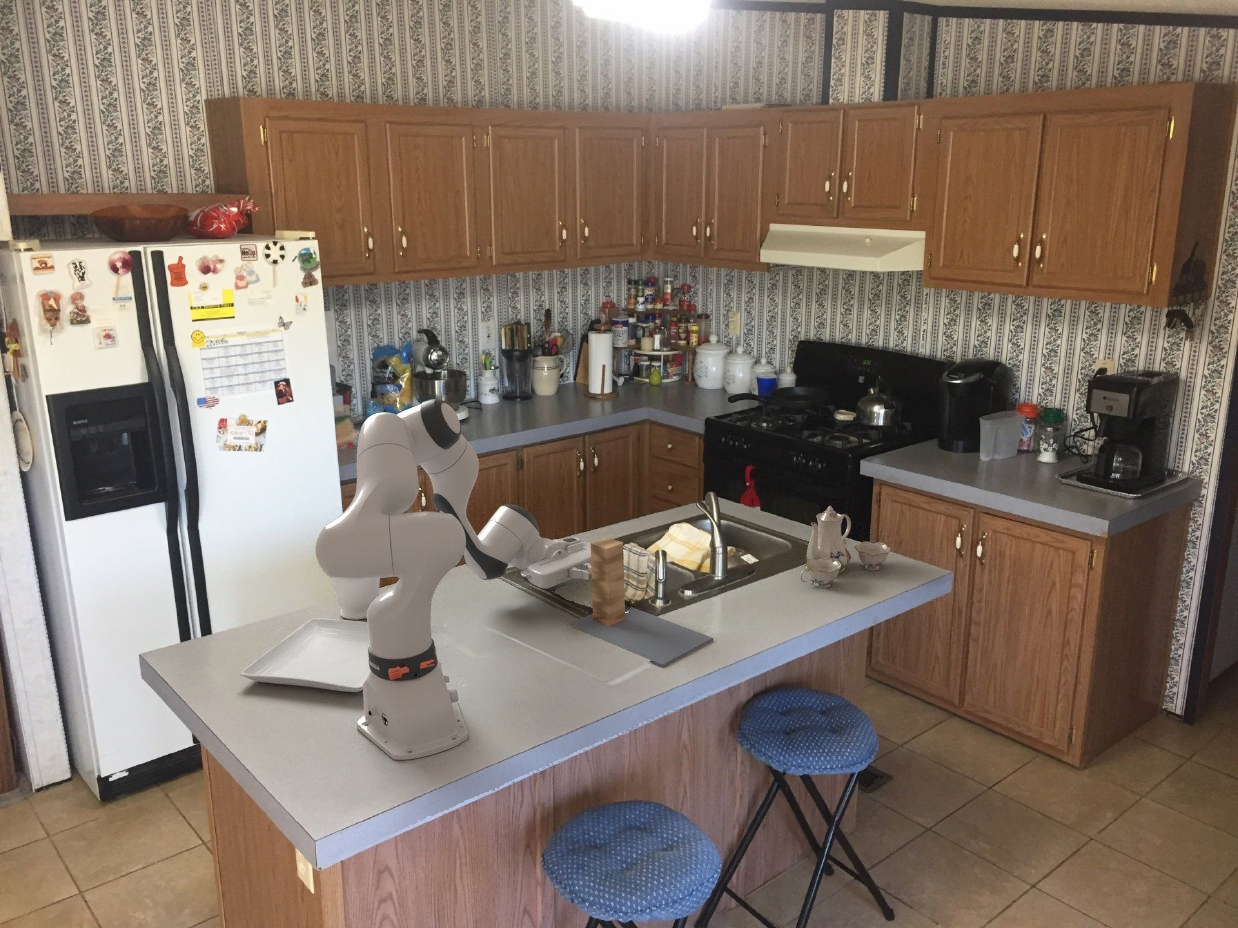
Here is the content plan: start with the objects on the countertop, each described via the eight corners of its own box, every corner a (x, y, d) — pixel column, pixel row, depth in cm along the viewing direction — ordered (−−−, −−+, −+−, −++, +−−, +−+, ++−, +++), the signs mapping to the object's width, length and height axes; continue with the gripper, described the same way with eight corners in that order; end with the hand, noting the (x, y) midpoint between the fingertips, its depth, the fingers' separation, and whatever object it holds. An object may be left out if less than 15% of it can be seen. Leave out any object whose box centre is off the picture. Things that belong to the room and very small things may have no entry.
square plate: (425, 642, 219) (424, 625, 218) (362, 705, 193) (360, 686, 192) (314, 630, 226) (312, 614, 225) (239, 689, 200) (236, 671, 199)
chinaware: (826, 603, 235) (834, 538, 229) (771, 576, 247) (778, 514, 241) (897, 571, 253) (906, 509, 247) (843, 547, 264) (851, 488, 258)
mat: (567, 627, 223) (567, 624, 223) (618, 604, 234) (617, 601, 234) (662, 667, 204) (662, 664, 204) (712, 640, 215) (712, 637, 215)
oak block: (593, 619, 225) (590, 543, 220) (609, 612, 228) (606, 537, 223) (609, 626, 221) (606, 548, 216) (625, 618, 225) (623, 542, 220)
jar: (389, 603, 237) (383, 543, 233) (374, 622, 227) (368, 560, 223) (345, 602, 238) (338, 543, 234) (328, 621, 229) (321, 559, 224)
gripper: (515, 559, 227) (557, 575, 217) (581, 535, 241) (623, 549, 231) (516, 585, 228) (558, 602, 219) (582, 560, 242) (624, 574, 233)
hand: (592, 574), depth 225 cm, fingers closed
